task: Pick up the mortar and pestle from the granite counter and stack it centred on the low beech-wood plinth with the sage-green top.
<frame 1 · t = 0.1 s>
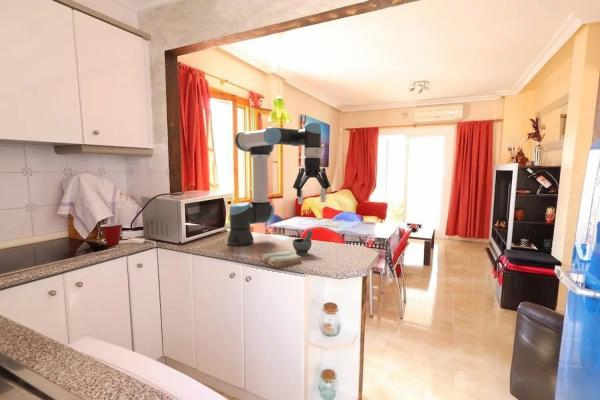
hand: (312, 203, 138), 28 cm above the worktop, fingers open, 13 cm apart
plastic cup: (112, 244, 167), on the worktop
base: (280, 260, 140), on the worktop
mortar and pestle: (303, 253, 152), on the worktop
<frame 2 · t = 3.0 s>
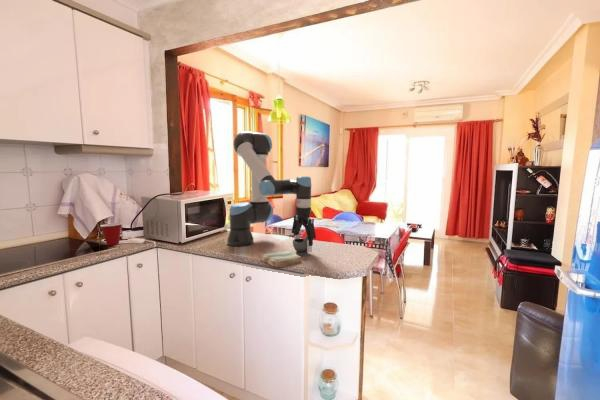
hand: (303, 249, 152), 2 cm above the worktop, fingers closed on mortar and pestle, 10 cm apart
mortar and pestle: (303, 253, 152), on the worktop, touching gripper
everything else where it was.
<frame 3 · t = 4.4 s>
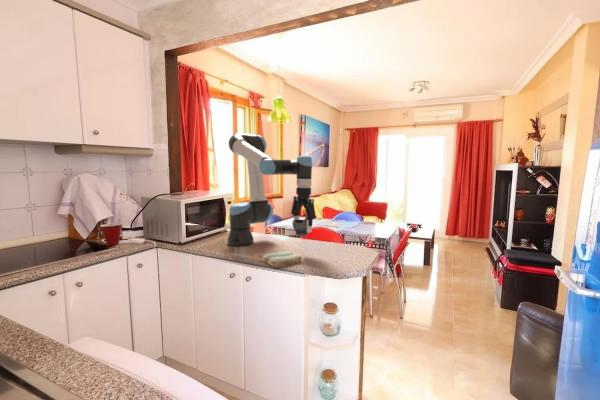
hand: (302, 230, 151), 12 cm above the worktop, fingers closed on mortar and pestle, 10 cm apart
mortar and pestle: (302, 234, 151), point 10 cm above the worktop, touching gripper
everything else where it was.
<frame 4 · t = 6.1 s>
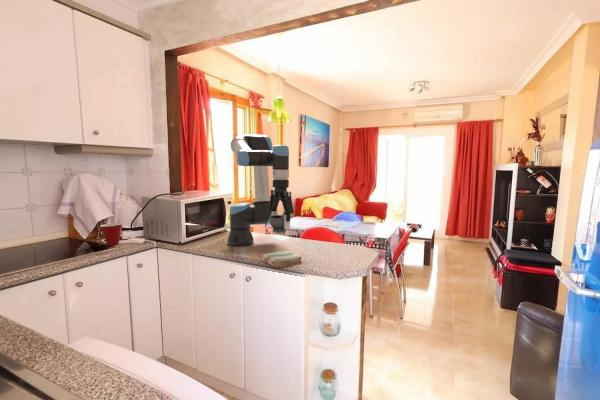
hand: (280, 226, 138), 17 cm above the worktop, fingers closed on mortar and pestle, 10 cm apart
mortar and pestle: (280, 231, 138), point 14 cm above the worktop, touching gripper
everything else where it was.
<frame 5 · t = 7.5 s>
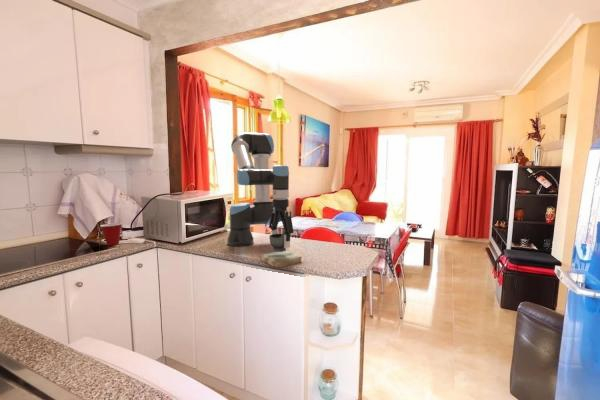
hand: (280, 245, 139), 8 cm above the worktop, fingers closed on mortar and pestle, 10 cm apart
mortar and pestle: (280, 250, 139), point 5 cm above the worktop, touching gripper
everything else where it was.
when the fingers open (6 cm above the worktop, at t = 8.8 s): mortar and pestle drops 1 cm, resting on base.
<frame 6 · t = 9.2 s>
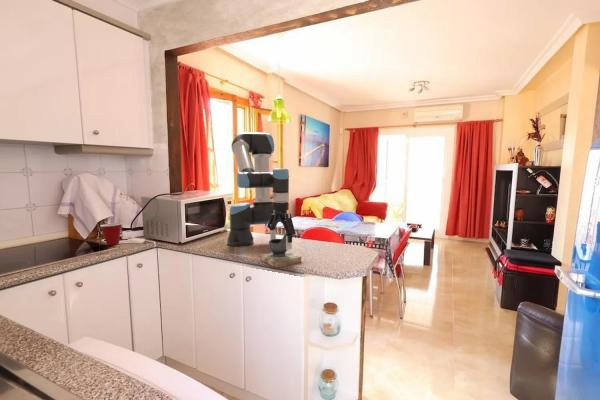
hand: (280, 246, 139), 7 cm above the worktop, fingers open, 13 cm apart
mortar and pestle: (280, 255, 140), point 3 cm above the worktop, touching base
everything else where it was.
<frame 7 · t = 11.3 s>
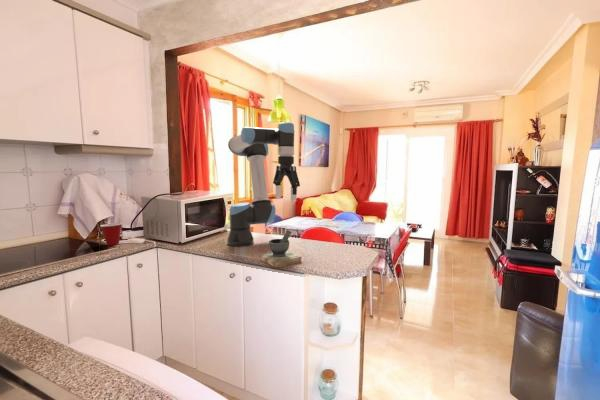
hand: (285, 199, 143), 29 cm above the worktop, fingers open, 13 cm apart
nothing on the worktop moved.
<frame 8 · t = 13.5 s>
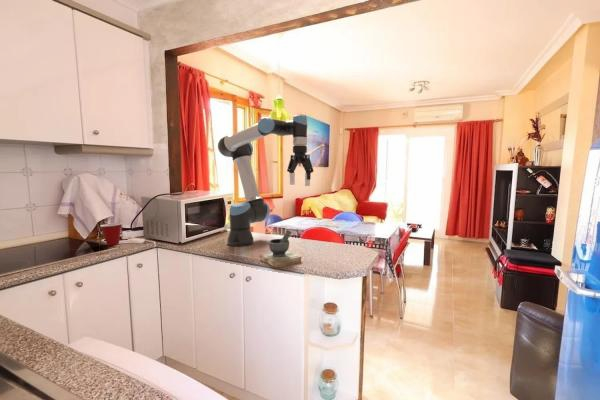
hand: (299, 185, 159), 35 cm above the worktop, fingers open, 13 cm apart
nothing on the worktop moved.
at the end: mortar and pestle inside the target area on the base (0.2 cm from its centre), point 2.5 cm above the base's base; mortar and pestle tilted 0°; the gripper is holding nothing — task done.
